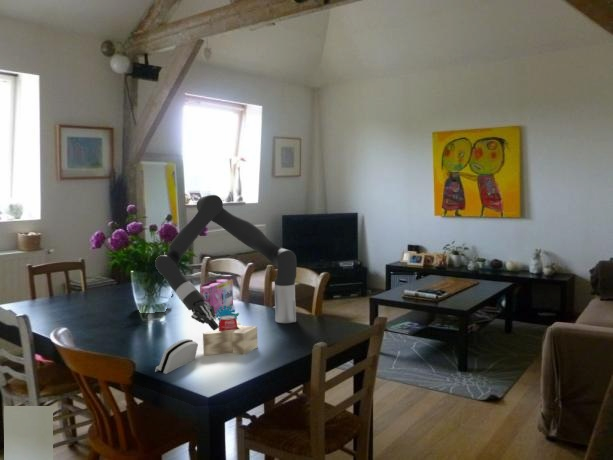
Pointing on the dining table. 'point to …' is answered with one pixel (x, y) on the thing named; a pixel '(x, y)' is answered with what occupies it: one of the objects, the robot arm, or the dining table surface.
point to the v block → (231, 340)
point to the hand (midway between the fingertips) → (216, 328)
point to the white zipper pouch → (177, 355)
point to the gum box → (218, 293)
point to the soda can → (227, 323)
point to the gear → (226, 312)
